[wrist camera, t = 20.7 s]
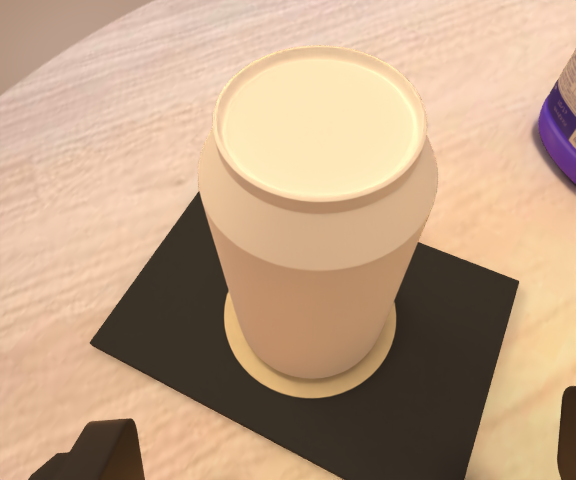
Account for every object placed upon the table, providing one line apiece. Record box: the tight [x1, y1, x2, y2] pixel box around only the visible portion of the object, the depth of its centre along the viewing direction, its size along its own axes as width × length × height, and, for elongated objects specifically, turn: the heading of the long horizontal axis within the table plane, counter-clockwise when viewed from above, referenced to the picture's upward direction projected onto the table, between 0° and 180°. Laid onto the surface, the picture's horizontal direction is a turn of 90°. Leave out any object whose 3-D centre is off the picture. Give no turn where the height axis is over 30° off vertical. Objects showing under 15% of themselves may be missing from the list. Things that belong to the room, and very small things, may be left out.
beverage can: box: [198, 45, 438, 379], centre depth 16 cm, size 6×6×12 cm
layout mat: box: [90, 191, 519, 480], centre depth 22 cm, size 16×11×1 cm
